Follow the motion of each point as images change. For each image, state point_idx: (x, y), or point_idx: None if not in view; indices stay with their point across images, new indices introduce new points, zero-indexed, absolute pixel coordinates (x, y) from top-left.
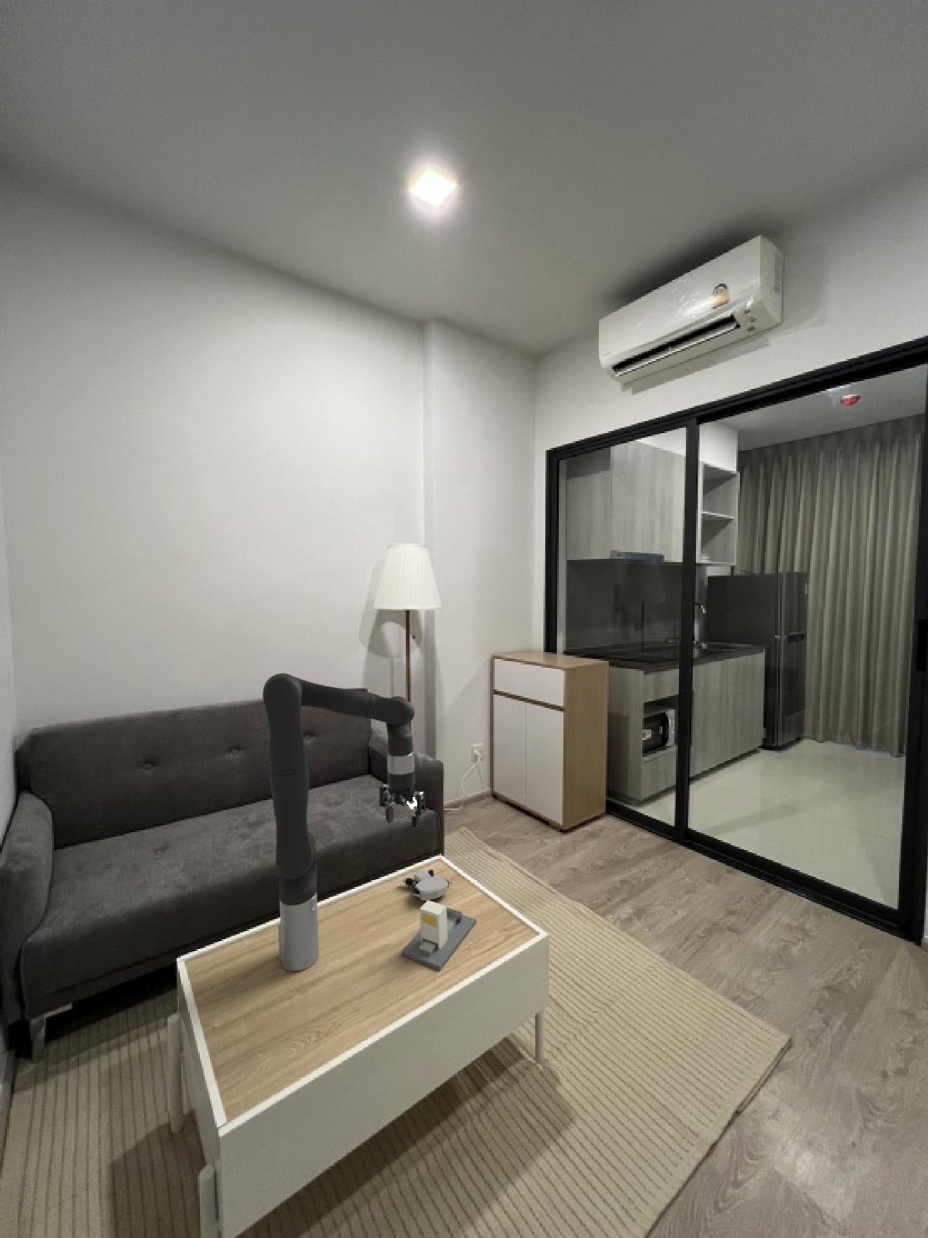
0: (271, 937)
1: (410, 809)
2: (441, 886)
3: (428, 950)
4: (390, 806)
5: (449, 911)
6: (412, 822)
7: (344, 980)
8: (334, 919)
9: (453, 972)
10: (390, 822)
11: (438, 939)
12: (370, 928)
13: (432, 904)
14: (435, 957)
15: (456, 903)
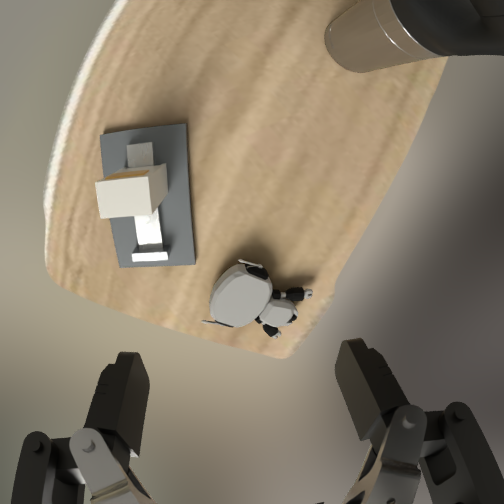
0: (426, 77)
1: (111, 486)
2: (214, 303)
3: (132, 147)
4: (381, 444)
5: (155, 252)
6: (117, 388)
7: (245, 29)
8: (372, 147)
9: (84, 145)
10: (340, 348)
11: (119, 170)
12: (293, 153)
13: (131, 206)
14: (118, 147)
15: (183, 291)
